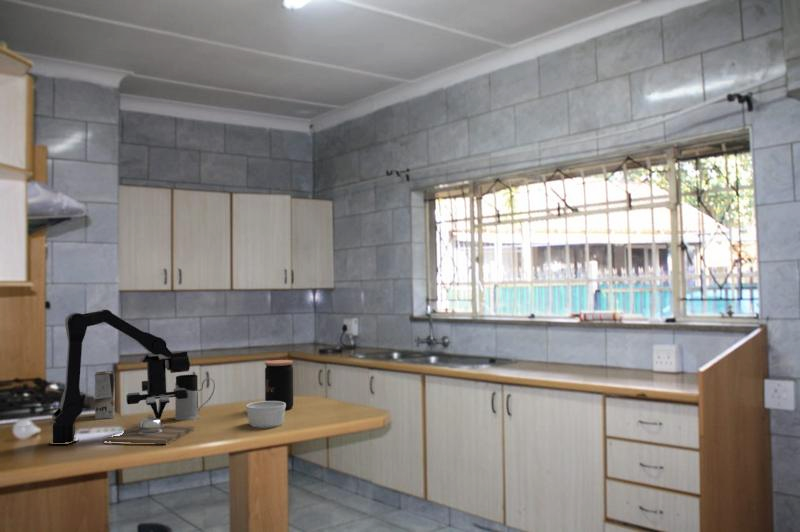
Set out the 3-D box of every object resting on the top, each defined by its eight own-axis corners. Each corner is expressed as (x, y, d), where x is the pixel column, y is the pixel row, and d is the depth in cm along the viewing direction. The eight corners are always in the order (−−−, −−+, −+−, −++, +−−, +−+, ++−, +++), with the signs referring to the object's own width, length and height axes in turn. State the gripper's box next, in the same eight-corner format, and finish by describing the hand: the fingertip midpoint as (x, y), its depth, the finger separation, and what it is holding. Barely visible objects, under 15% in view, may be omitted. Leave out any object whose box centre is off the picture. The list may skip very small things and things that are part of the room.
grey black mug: (173, 416, 250) (172, 375, 250) (213, 413, 255) (212, 372, 256) (175, 421, 242) (175, 378, 242) (216, 417, 247) (216, 375, 247)
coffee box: (114, 418, 249) (113, 373, 249) (94, 419, 246) (94, 374, 247) (114, 413, 257) (114, 370, 257) (96, 414, 255) (96, 371, 255)
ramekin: (255, 430, 226) (254, 409, 226) (240, 423, 237) (240, 403, 237) (292, 425, 233) (292, 404, 233) (276, 419, 244) (276, 399, 244)
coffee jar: (263, 407, 267) (263, 360, 267) (291, 405, 270) (290, 359, 270) (266, 412, 256) (266, 363, 257) (295, 410, 260) (295, 362, 260)
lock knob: (160, 431, 216) (160, 421, 216) (140, 433, 214) (140, 422, 214) (160, 423, 228) (160, 413, 228) (140, 425, 226) (140, 415, 226)
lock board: (165, 445, 207) (165, 439, 207) (103, 443, 209) (103, 438, 209) (194, 430, 226) (194, 425, 226) (136, 429, 229) (136, 424, 229)
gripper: (183, 369, 237) (184, 414, 237) (124, 374, 229) (126, 421, 229) (187, 373, 227) (188, 420, 227) (126, 378, 219) (128, 427, 219)
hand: (158, 422), depth 226 cm, fingers closed
